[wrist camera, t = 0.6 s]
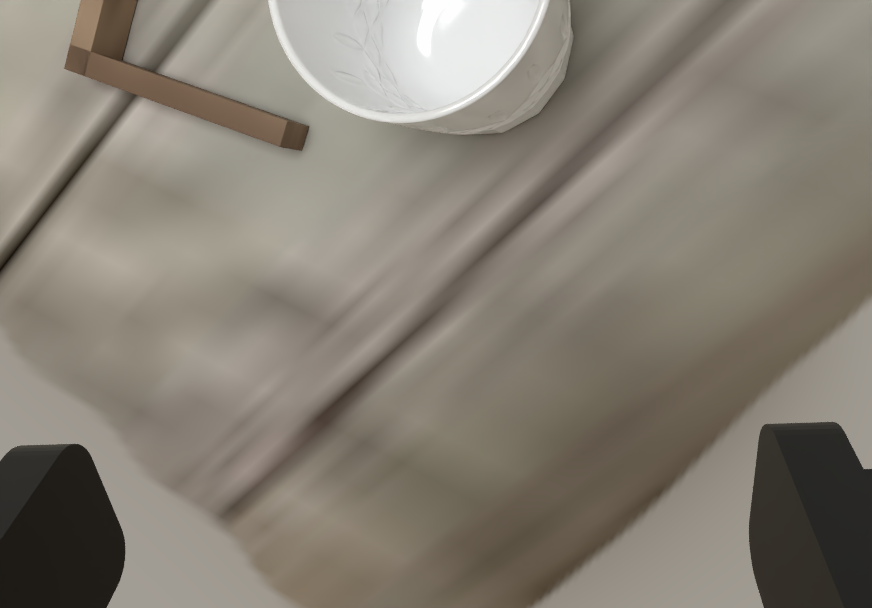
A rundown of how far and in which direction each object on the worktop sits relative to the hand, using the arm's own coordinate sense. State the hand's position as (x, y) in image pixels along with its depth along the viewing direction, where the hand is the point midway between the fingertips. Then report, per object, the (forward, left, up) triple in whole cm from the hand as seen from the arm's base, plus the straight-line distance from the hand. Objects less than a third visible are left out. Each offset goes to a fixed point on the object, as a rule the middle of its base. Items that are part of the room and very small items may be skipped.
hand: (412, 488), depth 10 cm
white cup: (-8, -7, -22) cm, 25 cm away
